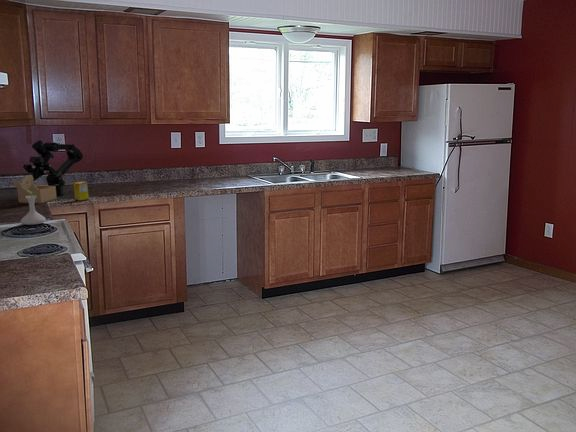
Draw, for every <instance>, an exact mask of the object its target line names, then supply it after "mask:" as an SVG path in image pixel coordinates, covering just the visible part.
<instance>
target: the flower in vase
mask: <svg viewBox="0 0 576 432" xmlns="http://www.w3.org/2000/svg"><path fill="white" fill-rule="evenodd" d="M32 175H33V174H32ZM32 175H31V174H29V175H28V174H27V175H26V176H25V177H23V178H22V180H21V181H22V184H21V185H23V186H22V189H24V190H26V189H27V192H28V193H30V194H32V195H36V193H35V190H34V191H32V192H31V191H29V190H28V189H29V188H30V187H32V186H31V185H32V183H34V181H33V179H34V178H33V176H32ZM32 190H33V188H32ZM32 195H31V196H26V198H27V200H28V202H29V203H28V206H29V211H28V212H27V213H26V215H24V216H23V218H22V219H21V220H20V223H21V224H23V225H28V226H33V225H34V226H35V225H39V224H43V223H45V222H46V217H45V216H44V215H42V214H40V213H39V212H38V211H36V207H35V203H34V202H35V198H36V196H32Z"/></svg>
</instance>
